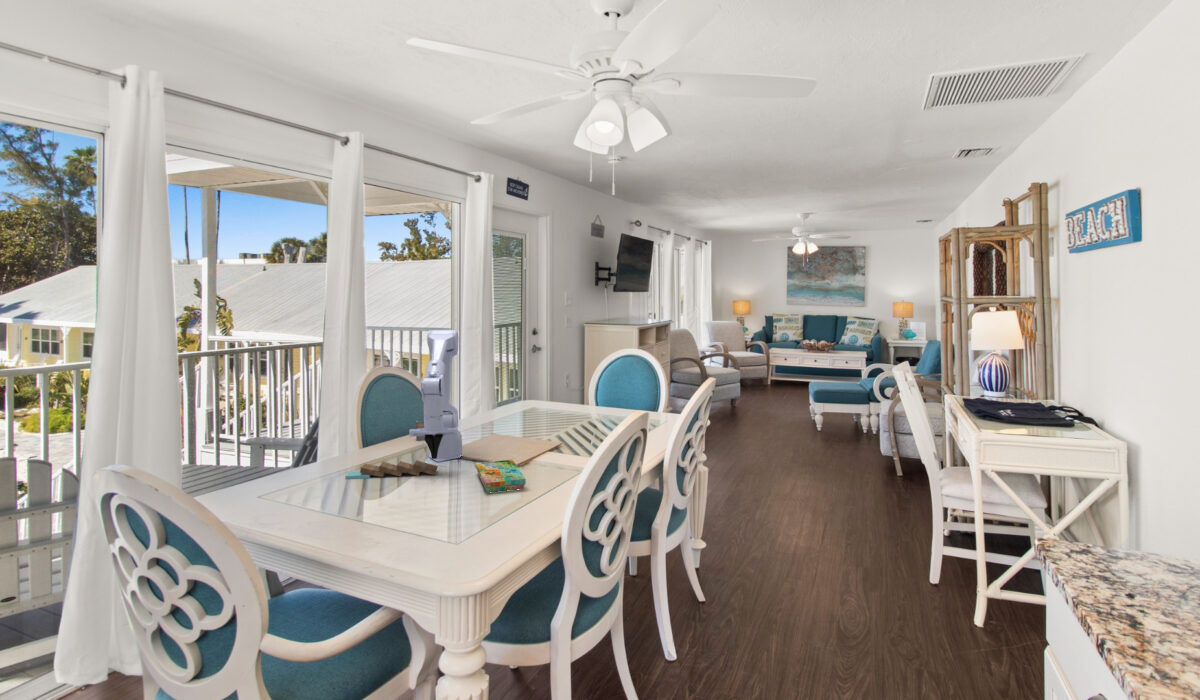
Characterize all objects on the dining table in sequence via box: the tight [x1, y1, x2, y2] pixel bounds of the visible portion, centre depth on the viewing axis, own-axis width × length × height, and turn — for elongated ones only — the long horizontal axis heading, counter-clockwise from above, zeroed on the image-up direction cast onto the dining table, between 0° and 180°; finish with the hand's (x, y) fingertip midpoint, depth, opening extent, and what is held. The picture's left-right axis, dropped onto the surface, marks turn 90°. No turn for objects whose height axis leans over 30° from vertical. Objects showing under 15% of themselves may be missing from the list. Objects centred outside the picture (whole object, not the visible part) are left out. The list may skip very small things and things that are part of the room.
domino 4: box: [396, 460, 422, 477], centre depth 183 cm, size 2×4×7 cm
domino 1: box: [345, 470, 373, 480], centre depth 181 cm, size 2×4×7 cm
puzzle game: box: [475, 459, 527, 494], centre depth 176 cm, size 12×5×20 cm
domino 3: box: [378, 461, 405, 478], centre depth 182 cm, size 2×4×7 cm
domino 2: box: [359, 463, 387, 478], centre depth 182 cm, size 2×4×7 cm
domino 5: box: [413, 459, 439, 476], centre depth 184 cm, size 2×4×7 cm
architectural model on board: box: [415, 419, 425, 442], centre depth 225 cm, size 11×3×10 cm, turn 100°
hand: (434, 457), depth 184 cm, fingers closed
